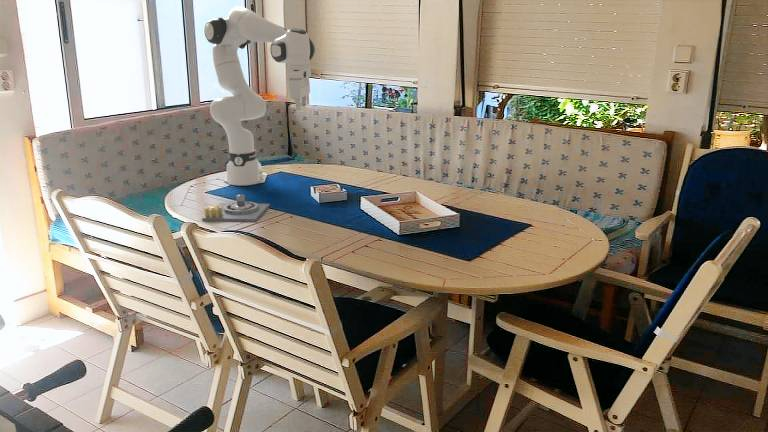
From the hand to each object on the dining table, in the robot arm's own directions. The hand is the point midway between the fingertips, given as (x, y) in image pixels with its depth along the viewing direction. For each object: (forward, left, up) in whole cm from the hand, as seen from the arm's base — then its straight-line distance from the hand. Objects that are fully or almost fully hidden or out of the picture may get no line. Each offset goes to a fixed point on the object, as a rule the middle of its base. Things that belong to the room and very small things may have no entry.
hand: (301, 108), depth 249 cm
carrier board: (+22, -22, -37) cm, 48 cm away
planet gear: (+20, -21, -36) cm, 46 cm away
